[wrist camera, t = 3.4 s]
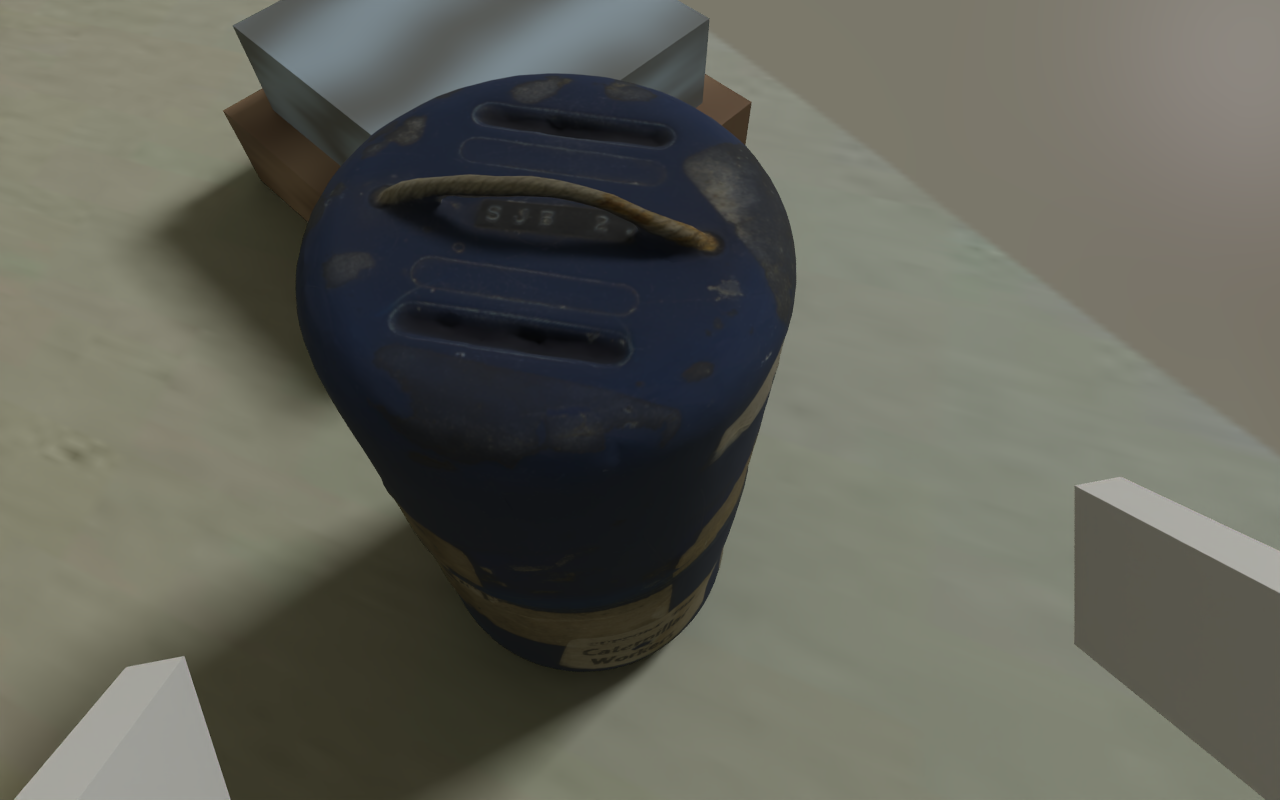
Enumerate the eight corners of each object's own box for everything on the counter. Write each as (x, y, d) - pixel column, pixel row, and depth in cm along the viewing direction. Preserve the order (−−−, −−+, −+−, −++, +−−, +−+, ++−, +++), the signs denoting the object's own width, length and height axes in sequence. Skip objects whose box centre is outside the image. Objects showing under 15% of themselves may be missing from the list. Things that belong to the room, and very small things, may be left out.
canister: (535, 393, 32) (441, -51, 17) (760, 483, 30) (888, 75, 15) (404, 612, 28) (112, 284, 12) (657, 733, 26) (687, 525, 10)
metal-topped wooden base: (260, 179, 38) (176, 26, 31) (514, 24, 44) (491, -135, 37) (485, 379, 33) (444, 247, 26) (741, 171, 39) (764, 17, 32)
